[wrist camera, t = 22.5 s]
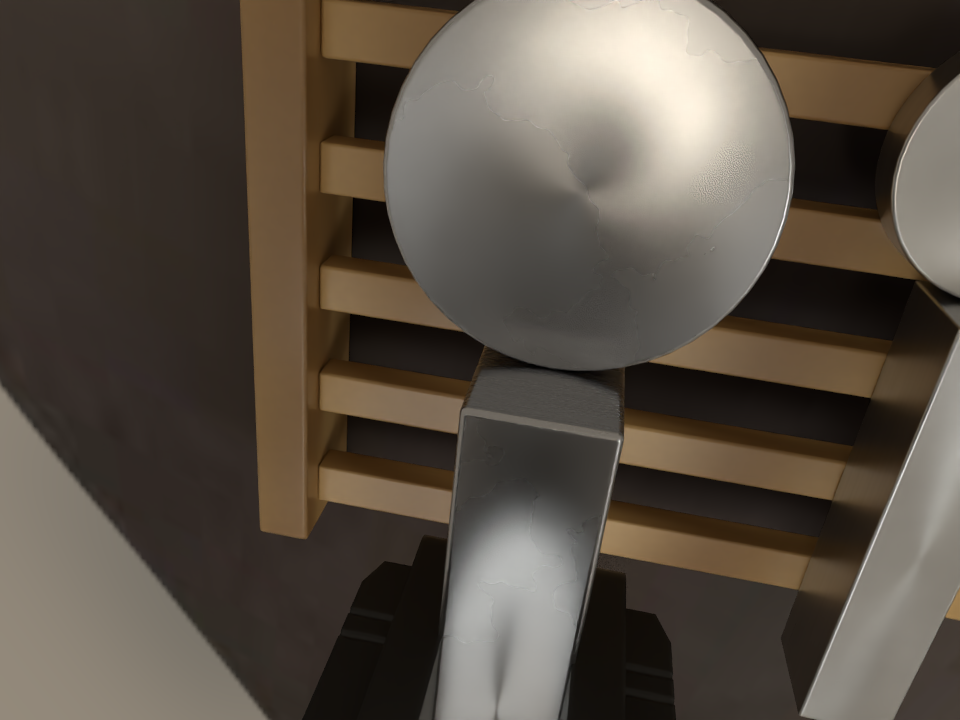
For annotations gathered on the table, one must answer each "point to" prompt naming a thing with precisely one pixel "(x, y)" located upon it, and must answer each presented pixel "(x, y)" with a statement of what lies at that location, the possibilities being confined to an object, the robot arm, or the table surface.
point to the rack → (438, 400)
